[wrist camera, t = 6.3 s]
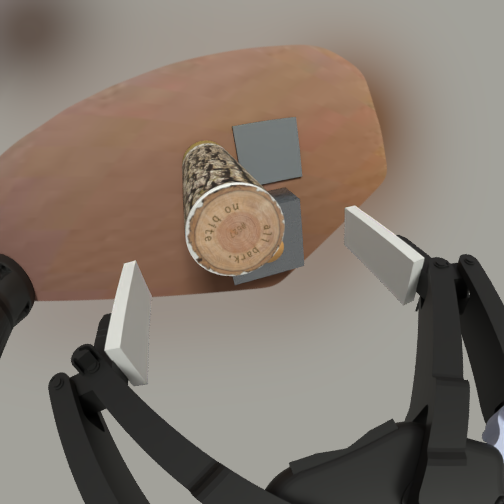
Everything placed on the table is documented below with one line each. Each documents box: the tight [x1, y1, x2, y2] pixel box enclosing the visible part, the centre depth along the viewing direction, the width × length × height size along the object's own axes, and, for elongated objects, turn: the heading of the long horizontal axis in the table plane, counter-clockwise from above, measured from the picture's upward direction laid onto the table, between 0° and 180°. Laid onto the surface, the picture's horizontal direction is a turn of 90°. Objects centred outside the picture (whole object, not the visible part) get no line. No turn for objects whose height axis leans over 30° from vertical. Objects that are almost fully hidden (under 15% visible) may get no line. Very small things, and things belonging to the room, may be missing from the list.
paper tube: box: [182, 141, 285, 276], centre depth 29 cm, size 7×7×25 cm
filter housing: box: [232, 187, 304, 285], centre depth 44 cm, size 12×12×6 cm
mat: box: [232, 117, 302, 185], centre depth 41 cm, size 10×10×1 cm
